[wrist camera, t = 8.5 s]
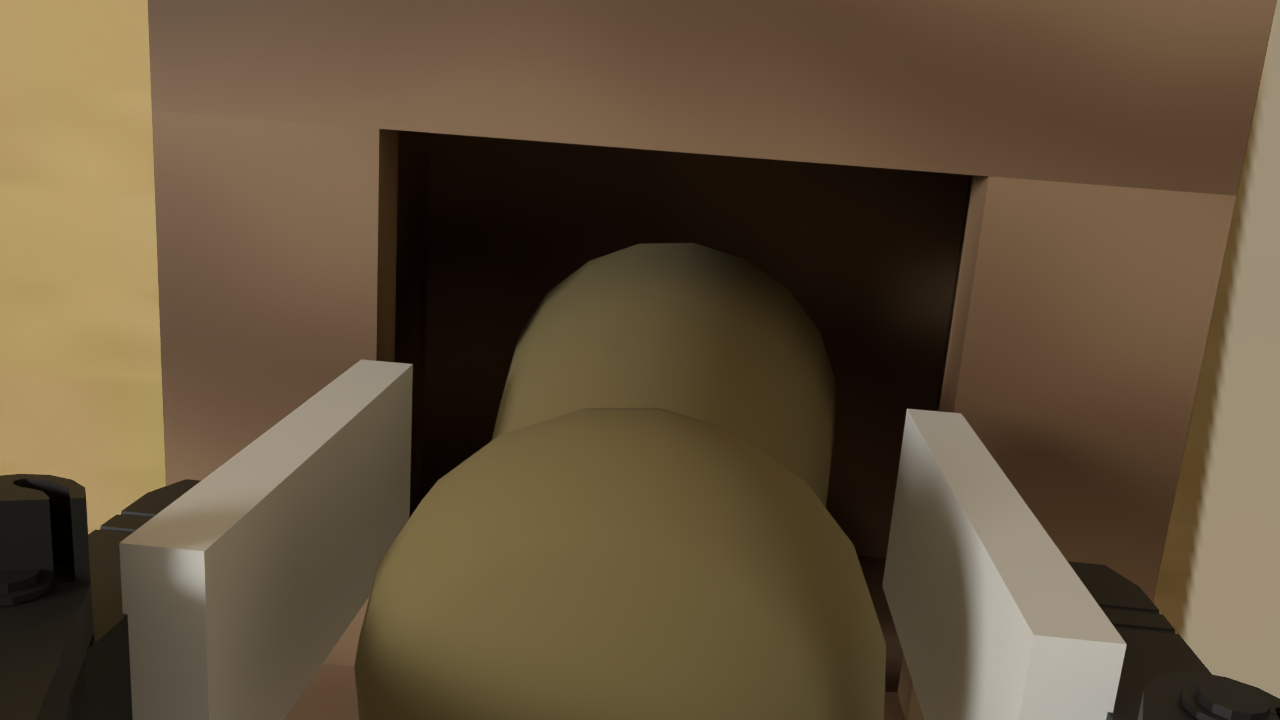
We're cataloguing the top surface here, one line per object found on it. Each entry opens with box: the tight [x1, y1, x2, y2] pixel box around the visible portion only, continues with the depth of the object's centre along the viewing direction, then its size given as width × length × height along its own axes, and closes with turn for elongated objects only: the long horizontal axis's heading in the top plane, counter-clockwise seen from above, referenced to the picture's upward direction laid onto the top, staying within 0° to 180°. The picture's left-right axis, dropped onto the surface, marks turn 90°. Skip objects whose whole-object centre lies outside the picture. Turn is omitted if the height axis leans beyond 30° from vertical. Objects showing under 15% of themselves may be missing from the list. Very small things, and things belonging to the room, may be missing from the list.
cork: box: [354, 243, 886, 720], centre depth 15 cm, size 6×6×11 cm
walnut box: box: [148, 0, 1277, 720], centre depth 24 cm, size 16×16×13 cm
